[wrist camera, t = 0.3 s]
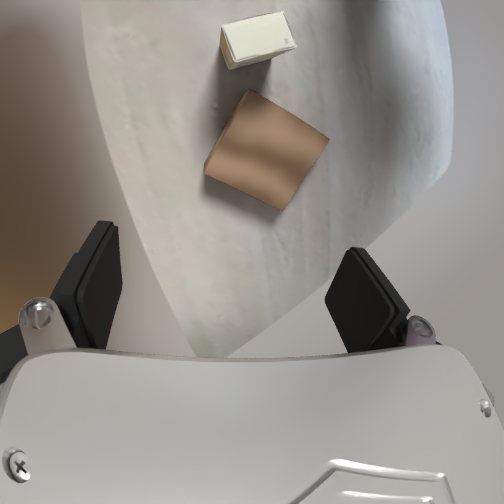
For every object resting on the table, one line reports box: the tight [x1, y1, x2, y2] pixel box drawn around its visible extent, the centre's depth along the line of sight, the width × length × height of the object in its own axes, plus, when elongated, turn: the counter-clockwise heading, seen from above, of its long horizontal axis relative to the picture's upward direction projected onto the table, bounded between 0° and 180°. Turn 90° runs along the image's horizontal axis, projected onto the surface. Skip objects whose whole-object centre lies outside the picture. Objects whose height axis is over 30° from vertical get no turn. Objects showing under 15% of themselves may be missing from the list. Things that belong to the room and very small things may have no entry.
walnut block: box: [204, 90, 330, 211], centre depth 35 cm, size 12×12×5 cm
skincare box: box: [220, 11, 297, 70], centre depth 23 cm, size 6×4×12 cm
